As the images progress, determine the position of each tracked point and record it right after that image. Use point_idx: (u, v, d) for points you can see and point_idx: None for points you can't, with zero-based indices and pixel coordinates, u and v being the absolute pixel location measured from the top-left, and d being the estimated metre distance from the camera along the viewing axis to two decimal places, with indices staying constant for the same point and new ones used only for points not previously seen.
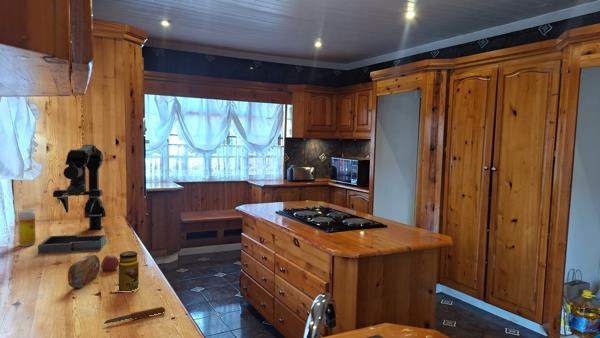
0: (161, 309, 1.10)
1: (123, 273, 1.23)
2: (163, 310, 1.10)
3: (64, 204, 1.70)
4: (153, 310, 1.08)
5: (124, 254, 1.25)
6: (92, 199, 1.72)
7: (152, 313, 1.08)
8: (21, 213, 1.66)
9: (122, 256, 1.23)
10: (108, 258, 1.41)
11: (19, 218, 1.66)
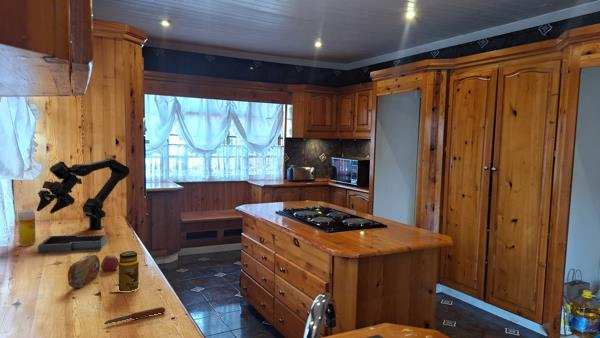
0: (161, 309, 1.10)
1: (123, 273, 1.23)
2: (163, 310, 1.10)
3: (40, 202, 1.79)
4: (153, 310, 1.08)
5: (124, 254, 1.25)
6: (58, 199, 1.75)
7: (152, 313, 1.08)
8: (21, 213, 1.66)
9: (122, 256, 1.23)
10: (108, 258, 1.41)
11: (19, 218, 1.66)
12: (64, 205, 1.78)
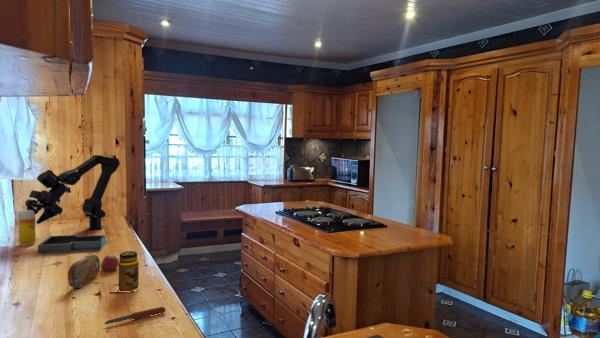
0: (161, 309, 1.10)
1: (123, 273, 1.23)
2: (163, 310, 1.10)
3: None
4: (153, 310, 1.08)
5: (124, 254, 1.25)
6: (45, 209, 1.70)
7: (152, 313, 1.08)
8: (21, 213, 1.66)
9: (122, 256, 1.23)
10: (108, 258, 1.41)
11: (19, 218, 1.66)
12: (51, 215, 1.73)
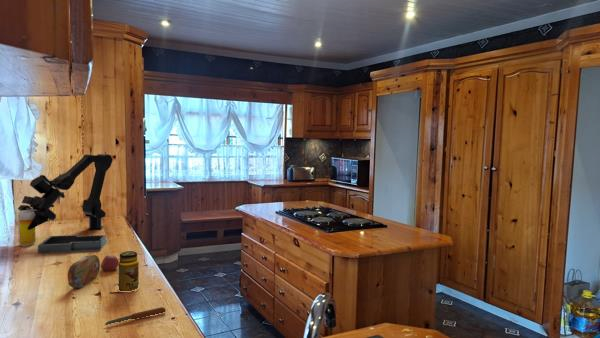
0: (162, 309, 1.10)
1: (123, 273, 1.23)
2: (164, 310, 1.10)
3: None
4: (154, 310, 1.08)
5: (124, 254, 1.25)
6: (36, 215, 1.68)
7: (153, 313, 1.08)
8: (21, 213, 1.66)
9: (122, 256, 1.23)
10: (108, 258, 1.41)
11: (19, 218, 1.66)
12: (43, 221, 1.71)
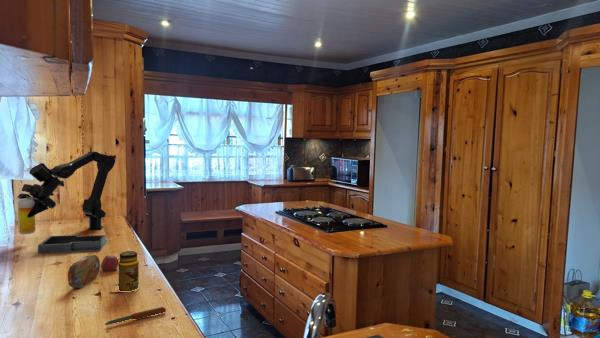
0: (162, 309, 1.10)
1: (123, 273, 1.23)
2: (164, 310, 1.10)
3: None
4: (154, 310, 1.08)
5: (124, 254, 1.25)
6: (36, 203, 1.68)
7: (153, 313, 1.08)
8: (21, 201, 1.66)
9: (122, 256, 1.23)
10: (108, 258, 1.41)
11: (19, 206, 1.66)
12: (42, 209, 1.70)
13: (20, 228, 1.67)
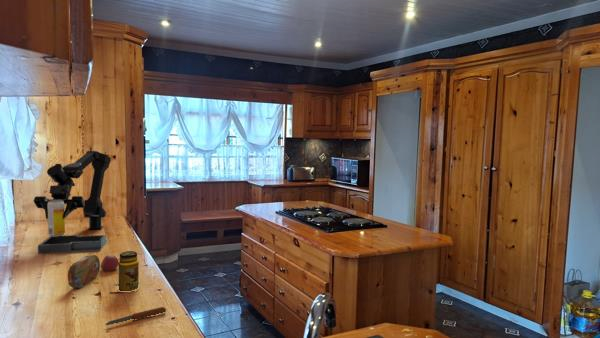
0: (162, 309, 1.10)
1: (123, 273, 1.23)
2: (164, 310, 1.10)
3: (46, 209, 1.65)
4: (154, 310, 1.08)
5: (124, 254, 1.25)
6: (69, 203, 1.67)
7: (153, 313, 1.08)
8: (55, 203, 1.63)
9: (122, 256, 1.23)
10: (108, 258, 1.41)
11: (53, 208, 1.62)
12: (72, 209, 1.70)
13: (55, 230, 1.63)
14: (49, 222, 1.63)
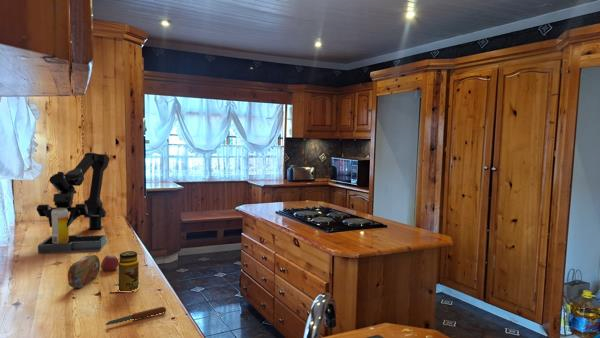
0: (162, 309, 1.10)
1: (123, 273, 1.23)
2: (164, 310, 1.10)
3: (49, 217, 1.65)
4: (154, 310, 1.08)
5: (124, 254, 1.25)
6: (73, 211, 1.68)
7: (153, 313, 1.08)
8: (60, 211, 1.63)
9: (122, 256, 1.23)
10: (108, 258, 1.41)
11: (58, 216, 1.63)
12: (75, 216, 1.71)
13: (59, 239, 1.64)
14: (53, 230, 1.63)
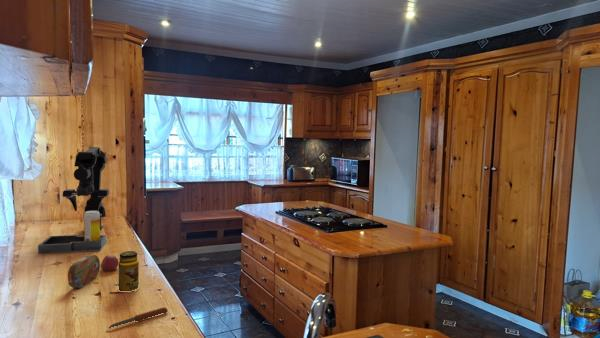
0: (164, 310, 1.10)
1: (123, 273, 1.23)
2: (166, 310, 1.10)
3: (73, 203, 1.80)
4: (156, 311, 1.08)
5: (124, 254, 1.25)
6: (100, 198, 1.82)
7: (155, 314, 1.08)
8: (92, 213, 1.67)
9: (122, 256, 1.23)
10: (108, 258, 1.41)
11: (90, 219, 1.67)
12: (102, 198, 1.86)
13: (91, 240, 1.68)
14: (86, 232, 1.67)
